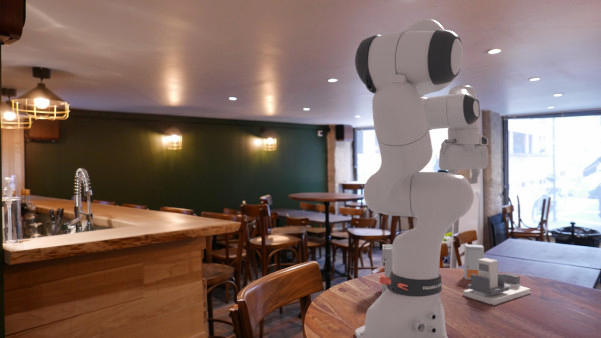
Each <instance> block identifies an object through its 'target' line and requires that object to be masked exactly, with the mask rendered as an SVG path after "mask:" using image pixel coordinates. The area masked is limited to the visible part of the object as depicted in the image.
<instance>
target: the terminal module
mask: <svg viewBox="0 0 601 338" xmlns="http://www.w3.org/2000/svg"><path fill="white" fill-rule="evenodd" d="M498 266H499V260H497V259H491V258H487V257H484V258H483V259H478V276H482V277H486V278H489V279H490V289H491V288H494V287H498V273H499V267H498Z"/></svg>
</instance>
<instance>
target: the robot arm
mask: <svg viewBox="0 0 601 338" xmlns="http://www.w3.org/2000/svg"><path fill="white" fill-rule="evenodd" d="M463 60H464V49H463V43H462V40H461V38H460V36H459V35H457V34H456V33H455V32H454V31H451V30H447V29H445V28H444V27H443V26H442V24H440V23H439V22H438V21H436V20H434V19H431V18H423V19H419V20H417V21H414V22H413V23H411V24H410V25H409V26H408V27H407V28H406V29H405V30H402V31H395V32H390V33H385V34H374V35H371V36H369V37H367V38H364V39H362V41H361V42H360V43H359V45H358V47H357V48H356V52H355V58H354V66H355V70H356V74H357V76H358V77H359V79H360V80H361V82H362V83H363V84H364V85H365V88H366V89H367V91H369V93H371V94H373V96H372V108H371V109H372V121H373V126H374V131H375V136H376V140H377V142H378V143H377V144H378V149H379V153H380V158H381V159H380V161H381V162H380V163H381V164H380V167H379V169H377V171H376V172H375V173H374V174H372V175H371V176H370V177H369V178H367V180H366V182H365V184H364V188H363V198H364V199H363V200H364V202H365V204H366V206H367V207H368V208H369V210H370V211H371V212H374V213H378V214H383V215H387V216H393V217H394V216H395V217H398V216H399V217H411V218H416V219H417V221H416V225H415V227H413V228H411V229H408V230H406V231H404V232H402V233H400V234H398V235H397V236H396V237H395V238H394V239H393V242H392V271H391V273H390V277H386V276H385V275H384V276H383V274H382V275H380V276H379V278H378V282H379V283H380V284H381V285H382V284H385V285H387V289H386V290H385V291H384V292H383V294H382V293H381V295H380V296H379V297H378V298H377V299H376V300H374V302H373V303H372V304H371V305H370V306H369V308H367V311H366V314H365V321H364V325H362V326H359V327H358V328H355V330H354V335H355V338H449V337H448V333H447V328H446V319H445V318H446V317H445V310H444V309H445V308H444V303H443V301H442V298H441V291H442V290H443V289H442V284H443V281H442V275H441V274H440V266H441V265H440V262H441V261H440V259H441V250H442V244H443V239H444V237H445V235H446V233H448V231H449V229H450V227H452V226H453V224H455V222H456V221H458V220H459V219H461V218H463V217H464V216H465V215H467V213H469V211H470V209H471V208H472V206H473V202H474V196H475V195H474V190H473V186H472V185H473V184H474V185H477V184H478V183H479V182H478V181H479V179H478V178H479V176H480V173H481V170H484V169H487V168H488V166H489V149H488V147H487V146H488V145H489V139H488V137H486V136H484V135H483V134H481V132H480V131H479V130H480V129H479V124H478V119H479V118H480V116H481V114H480V112H481V110H480V101H479V100H478V98H477V94H476V90H475V89H476V88H474V87H473V86H470V85H465V84H464V85H457V86H453V87H451V88H450V89H449V90H448V94H444V95H443V94H442V95H437V96H427V97H426V96H425V95H428V94H432V93H435V92H440V91H442V90H443V89H445V88H447V87H448V86H449V85H450V84H452V82H453V81H454V80H455V79H456V77H457V76H458V75H459V73H460V71H461V67H462V65H463V62H464V61H463ZM438 129H447V139H444V141H442V143H441V146H440V149H439V158H438V167H439V170H441V171H432V172H431V171H423V169H424V168H425V167H427V165H428V164H429V163H430V161H432V160H431V159H432V157H433V146H432V140H431V139H432V138H431V131H430V130H438ZM458 170H459V171H460V170H470V171H471V172H470V173H471V177H469V180H468V179H467V178H466V177H465V176H463V175H461V174H459V175H458ZM443 171H444V172H443ZM445 171H447V172H445Z"/></svg>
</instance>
